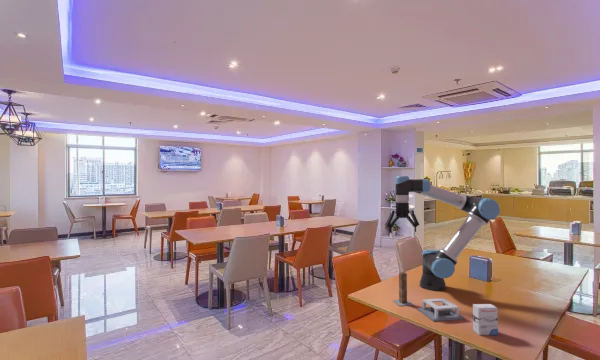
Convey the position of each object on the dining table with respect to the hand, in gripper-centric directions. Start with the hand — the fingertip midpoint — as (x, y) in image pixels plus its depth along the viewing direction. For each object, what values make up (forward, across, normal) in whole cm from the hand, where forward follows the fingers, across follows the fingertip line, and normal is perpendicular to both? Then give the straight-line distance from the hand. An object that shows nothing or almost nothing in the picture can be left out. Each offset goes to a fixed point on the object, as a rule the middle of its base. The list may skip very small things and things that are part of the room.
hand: (402, 238), depth 190 cm
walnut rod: (+32, +7, +14) cm, 36 cm away
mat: (+33, +7, +14) cm, 36 cm away
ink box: (+33, -12, +52) cm, 63 cm away
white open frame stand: (+33, -4, +31) cm, 45 cm away
